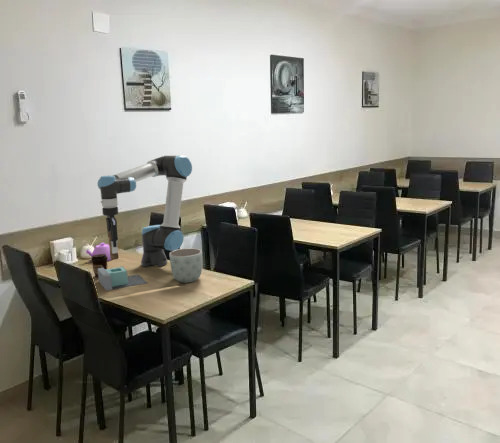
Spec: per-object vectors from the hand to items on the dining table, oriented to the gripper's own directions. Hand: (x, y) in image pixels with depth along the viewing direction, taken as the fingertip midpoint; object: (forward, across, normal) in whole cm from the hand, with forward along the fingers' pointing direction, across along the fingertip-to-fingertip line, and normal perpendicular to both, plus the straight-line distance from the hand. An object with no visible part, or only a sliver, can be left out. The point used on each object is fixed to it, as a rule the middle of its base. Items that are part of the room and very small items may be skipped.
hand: (114, 252), depth 246 cm
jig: (+18, 0, +3) cm, 18 cm away
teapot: (+18, -58, +5) cm, 61 cm away
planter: (+18, +13, +34) cm, 40 cm away
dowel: (+3, 0, 0) cm, 3 cm away
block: (+17, 0, 0) cm, 17 cm away
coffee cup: (+18, -18, -4) cm, 26 cm away
